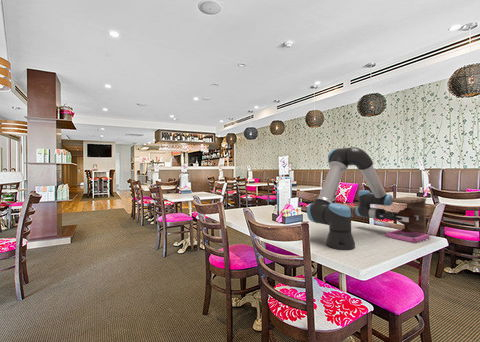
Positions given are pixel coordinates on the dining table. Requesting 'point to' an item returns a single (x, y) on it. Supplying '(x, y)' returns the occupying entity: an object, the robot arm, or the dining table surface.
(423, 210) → the display shelf
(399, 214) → the ice cream bowl
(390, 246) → the dining table surface
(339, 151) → the robot arm
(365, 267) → the dining table surface
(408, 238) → the seat plate
